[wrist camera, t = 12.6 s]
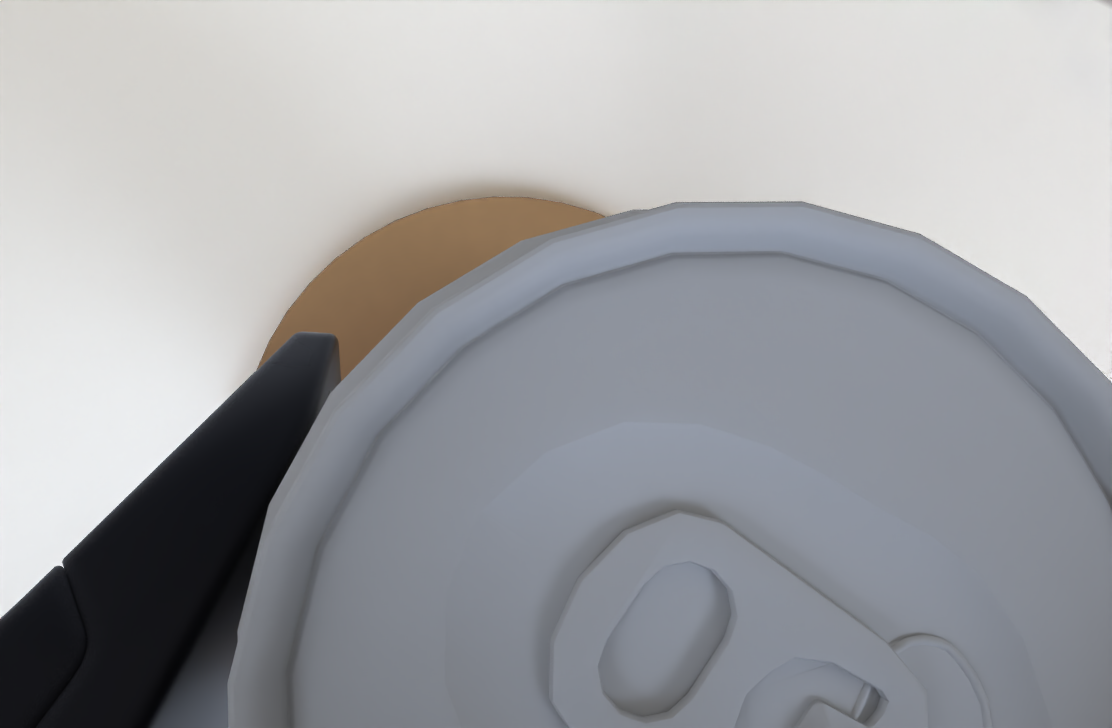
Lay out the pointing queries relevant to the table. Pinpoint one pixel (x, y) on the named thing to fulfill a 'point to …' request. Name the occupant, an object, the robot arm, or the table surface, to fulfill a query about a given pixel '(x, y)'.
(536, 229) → the cork coaster
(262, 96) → the table surface
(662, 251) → the beverage can
